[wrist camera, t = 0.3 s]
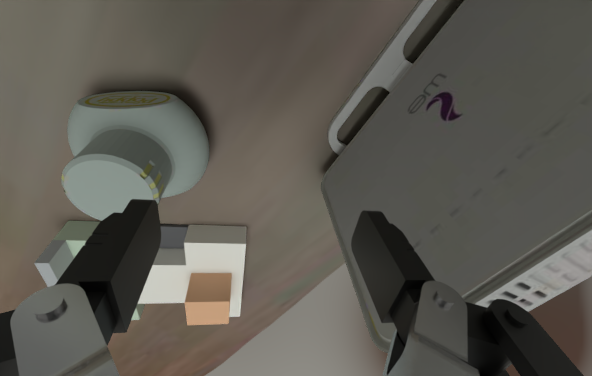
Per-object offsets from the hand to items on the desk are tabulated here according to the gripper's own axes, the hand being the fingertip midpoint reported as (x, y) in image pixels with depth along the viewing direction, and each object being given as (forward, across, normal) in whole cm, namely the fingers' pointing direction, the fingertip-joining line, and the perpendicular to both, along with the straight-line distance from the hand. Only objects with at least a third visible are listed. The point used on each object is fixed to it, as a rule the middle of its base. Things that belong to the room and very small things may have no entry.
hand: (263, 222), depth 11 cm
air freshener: (+18, +10, +4) cm, 21 cm away
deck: (+19, +10, +24) cm, 32 cm away
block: (+16, +4, +24) cm, 29 cm away
